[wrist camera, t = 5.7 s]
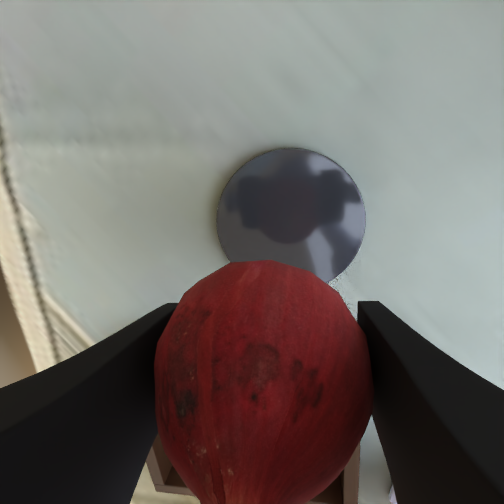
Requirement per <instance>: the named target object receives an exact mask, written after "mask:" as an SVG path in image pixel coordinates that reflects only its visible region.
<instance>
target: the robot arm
mask: <svg viewBox="0 0 504 504" xmlns="http://www.w3.org/2000/svg"><path fill="white" fill-rule="evenodd" d="M178 304H179V303H167V304H165V305H163V306H161V307H159V308H157V309H155V310H153V311H152V312H150V313H148V314H146V315H145V316H143V317H141V318H140V319H138V320H136V321H135V322H133V323H131V324H130V325H128V326H126V327H125V328H123V329H121V330H120V331H118V332H116V333H115V334H113V335H111V336H109V337H108V338H106V339H104V340H102V341H100V342H99V343H97V344H95V345H93V346H91V347H90V348H88V349H86V350H84V351H82V352H80V353H79V354H77V355H75V356H73V357H71V358H69V359H67V360H65V361H63V362H60V363H58V364H56V365H54V366H52V367H50V368H48V369H46V370H43V371H41V372H39V373H37V374H34V375H32V376H29V377H27V378H25V379H22V380H20V381H17V382H15V383H12V384H10V385H8V386H5V387H3V388H0V504H130V501H131V498H132V496H133V493H134V490H135V488H136V485H137V482H138V480H139V477H140V474H141V472H142V469H143V467H144V464H145V461H146V459H147V456H148V454H149V452H150V449H151V447H152V445H153V443H154V440H155V438H156V436H157V434H158V427H157V421H156V415H155V379H154V360H155V354H156V348H157V342H158V340H159V339H160V337H161V335H162V333H163V331H164V329H165V327H166V326H167V324H168V322H169V320H170V318H171V316H172V315H173V313H174V311H175V309H176V307H177V305H178ZM357 323H358V324H359V326H360V327H361V329H362V330H363V332H364V333H365V335H366V338H367V343H368V349H369V355H370V362H371V369H372V377H373V385H374V399H373V409H372V417H373V420H374V423H375V427H376V430H377V433H378V436H379V439H380V442H381V445H382V448H383V452H384V455H385V458H386V461H387V465H388V468H389V472H390V475H391V479H392V483H393V484H392V487H391V490H390V493H389V500H390V502H391V503H392V504H504V390H502V389H501V388H499V387H497V386H496V385H494V384H492V383H491V382H489V381H487V380H486V379H484V378H482V377H481V376H479V375H477V374H476V373H474V372H473V371H471V370H469V369H468V368H466V367H465V366H463V365H462V364H460V363H459V362H457V361H456V360H454V359H453V358H451V357H450V356H449V355H447V354H446V353H444V352H443V351H441V350H440V349H438V348H437V347H436V346H434V345H433V344H432V343H430V342H429V341H428V340H426V339H425V338H424V337H422V336H421V335H420V334H418V333H417V332H416V331H415V330H413V329H412V328H411V327H410V326H408V325H407V324H406V323H405V322H403V321H402V320H401V319H400V318H399V317H397V316H396V315H395V314H394V313H392V312H391V311H390V310H389V309H388V308H386V307H385V306H384V305H383V304H382V303H380V302H379V301H358V315H357Z"/></svg>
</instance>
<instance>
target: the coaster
mask: <svg viewBox="0 0 504 504" xmlns="http://www.w3.org/2000/svg"><path fill="white" fill-rule="evenodd" d="M365 223H366V221H365V208H364V203H363V200H362V197H361V194H360V192H359V190H358V188H357V186H356V184H355V182H354V181H353V180H352V178H351V177H350V175H349V174H348V173H347V172H346V171H345V170H344V169H343V168H342V167H341V166H339V165H338V164H337V163H336V162H334V161H333V160H331V159H329V158H328V157H326V156H324V155H321V154H319V153H317V152H313V151H310V150H306V149H298V148H284V149H278V150H273V151H270V152H267V153H264V154H261V155H259V156H257V157H255V158H253V159H252V160H250V161H249V162H247V163H246V164H244V165H243V166H242V167H241V168H240V169H238V170H237V172H236V173H235V174H234V175H233V176H232V177H231V179H230V180H229V182H228V183H227V185H226V186H225V188H224V190H223V192H222V195H221V198H220V201H219V204H218V209H217V231H218V236H219V240H220V243H221V246H222V248H223V250H224V252H225V254H226V256H227V257H228V259H229V261H230V262H231V263H232V262H246V261H261V260H273V261H277V262H280V263H284V264H287V265H290V266H294V267H297V268H301V269H304V270H307V271H310V272H312V273H313V274H314V275H316V276H317V277H318V278H320V279H321V280H322V281H324V282H325V283H327V282H329V281H331V280H332V279H334V278H335V277H337V276H338V275H339V274H340V273H342V272H343V271H344V270H345V269H346V268H347V267H348V265H349V264H350V263H351V262H352V260H353V259H354V257H355V256H356V254H357V252H358V250H359V248H360V245H361V243H362V240H363V236H364V232H365Z"/></svg>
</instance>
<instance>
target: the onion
mask: <svg viewBox="0 0 504 504" xmlns="http://www.w3.org/2000/svg"><path fill="white" fill-rule="evenodd" d="M154 379H155V415H156V421H157V427H158V433H159V436H160V439H161V442H162V446H163V449H164V452H165V454H166V455H167V457H168V458H169V460H170V462H171V463H172V465H173V467H174V468H175V470H176V471H177V473H178V474H179V476H180V477H181V479H182V480H183V482H184V483H185V485H186V486H187V487H188V488H189V489H190V490H191V492H192V493H193V494H194V495H195V496H196V497H197V498H198V499H199V500H200V503H201V504H305V503H307V502H308V501H310V500H311V499H312V498H314V497H315V496H317V495H318V494H320V493H321V492H322V491H324V490H325V489H326V488H327V487H328V486H329V485H330V484H331V483H332V482H333V481H334V480H335V479H336V478H337V477H338V476H339V474H340V473H341V472H342V470H343V469H344V468H345V466H346V465H347V464H348V462H349V460H350V459H351V457H352V455H353V453H354V451H355V449H356V448H357V446H358V444H359V442H360V440H361V438H362V437H363V435H364V433H365V430H366V427H367V425H368V422H369V420H370V417H371V414H372V409H373V399H374V385H373V377H372V369H371V362H370V355H369V349H368V343H367V338H366V335H365V333H364V332H363V330H362V329H361V327H360V326H359V324H358V323H357V322H356V320H355V319H354V317H353V316H352V314H351V313H350V311H349V309H348V308H347V306H346V304H345V303H344V301H343V299H342V297H341V296H340V294H339V292H337V291H336V290H334V289H333V288H332V287H330V286H329V285H328V284H326V283H325V282H324V281H322V280H321V279H320V278H318V277H317V276H316V275H314V274H313V273H312V272H310V271H307V270H304V269H301V268H297V267H294V266H290V265H287V264H284V263H280V262H277V261H273V260H261V261H246V262H232V263H229V264H227V265H225V266H224V267H222V268H220V269H219V270H217V271H215V272H213V273H212V274H210V275H208V276H207V277H205V278H203V279H201V280H200V281H198V282H197V283H196V284H195V285H194V286H192V287H191V288H190V289H189V290H188V291H187V292H185V293H184V295H183V296H182V298H181V300H180V302H179V304H178V305H177V307H176V309H175V311H174V313H173V315H172V316H171V318H170V320H169V322H168V324H167V326H166V327H165V329H164V331H163V333H162V335H161V337H160V339H159V340H158V342H157V348H156V354H155V360H154Z"/></svg>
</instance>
